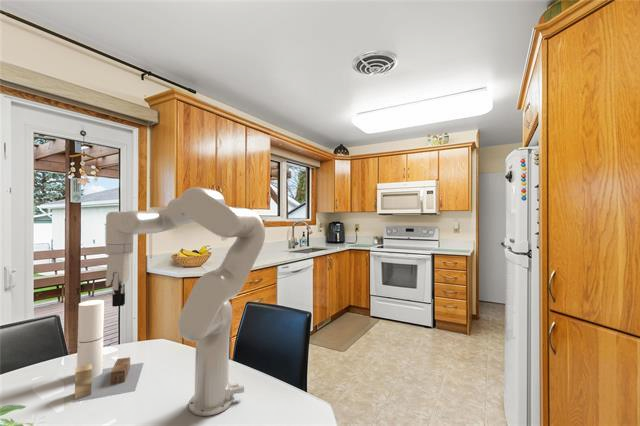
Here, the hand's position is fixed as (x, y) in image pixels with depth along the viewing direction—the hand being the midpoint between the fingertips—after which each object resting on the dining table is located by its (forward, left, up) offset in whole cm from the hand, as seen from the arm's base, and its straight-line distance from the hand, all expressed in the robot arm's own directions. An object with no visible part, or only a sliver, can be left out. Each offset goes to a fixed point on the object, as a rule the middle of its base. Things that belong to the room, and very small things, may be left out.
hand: (118, 305), depth 98 cm
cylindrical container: (+10, -12, -27) cm, 31 cm away
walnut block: (0, -2, -24) cm, 24 cm away
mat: (+2, -5, -27) cm, 27 cm away
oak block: (+9, +1, -26) cm, 28 cm away
